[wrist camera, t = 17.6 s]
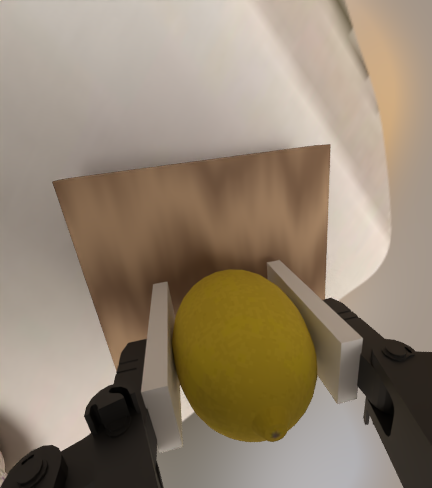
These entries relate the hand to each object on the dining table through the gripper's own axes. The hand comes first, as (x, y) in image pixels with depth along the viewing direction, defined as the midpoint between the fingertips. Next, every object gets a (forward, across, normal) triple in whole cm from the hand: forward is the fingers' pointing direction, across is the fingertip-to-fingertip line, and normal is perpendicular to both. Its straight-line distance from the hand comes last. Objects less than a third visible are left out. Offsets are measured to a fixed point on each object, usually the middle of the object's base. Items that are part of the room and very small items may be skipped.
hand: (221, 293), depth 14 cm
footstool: (+3, -7, 0) cm, 8 cm away
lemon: (+1, 0, 0) cm, 1 cm away
